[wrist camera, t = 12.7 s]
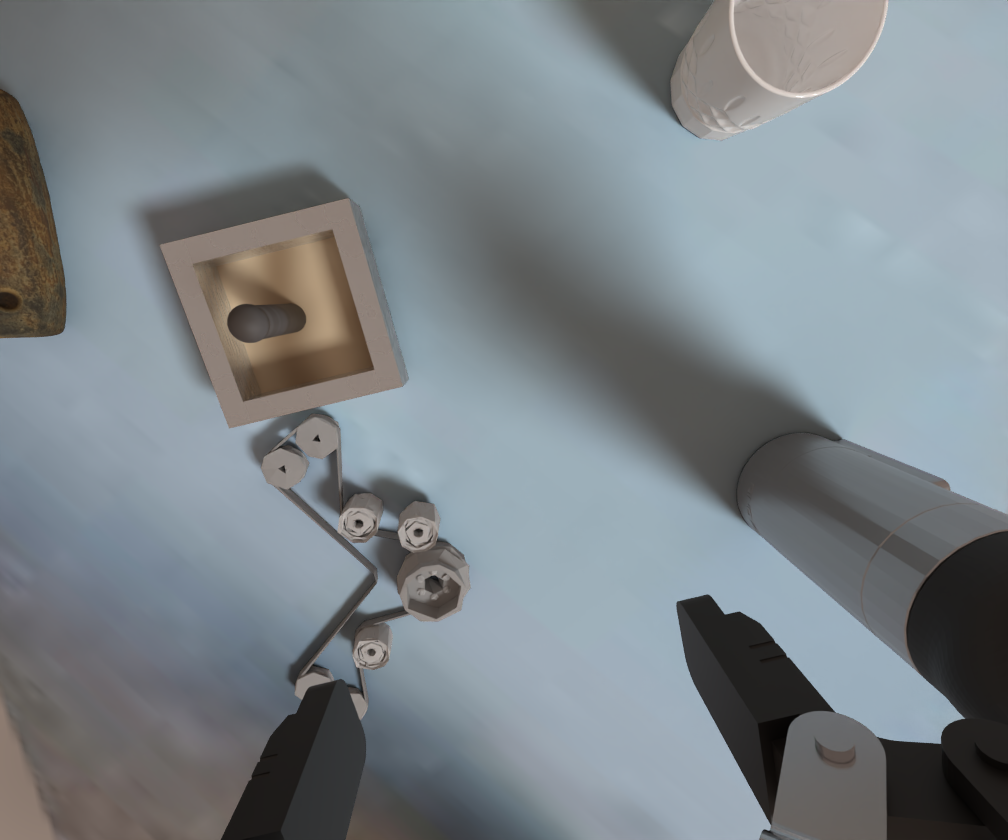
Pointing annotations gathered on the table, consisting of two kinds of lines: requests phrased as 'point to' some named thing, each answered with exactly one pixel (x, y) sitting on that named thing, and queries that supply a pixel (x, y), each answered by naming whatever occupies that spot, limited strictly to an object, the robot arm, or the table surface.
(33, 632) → the table surface
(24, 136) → the brown cylinder
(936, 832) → the robot arm
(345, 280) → the wooden board with peg
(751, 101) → the white cup
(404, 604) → the pulley system
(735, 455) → the table surface
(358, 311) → the link
